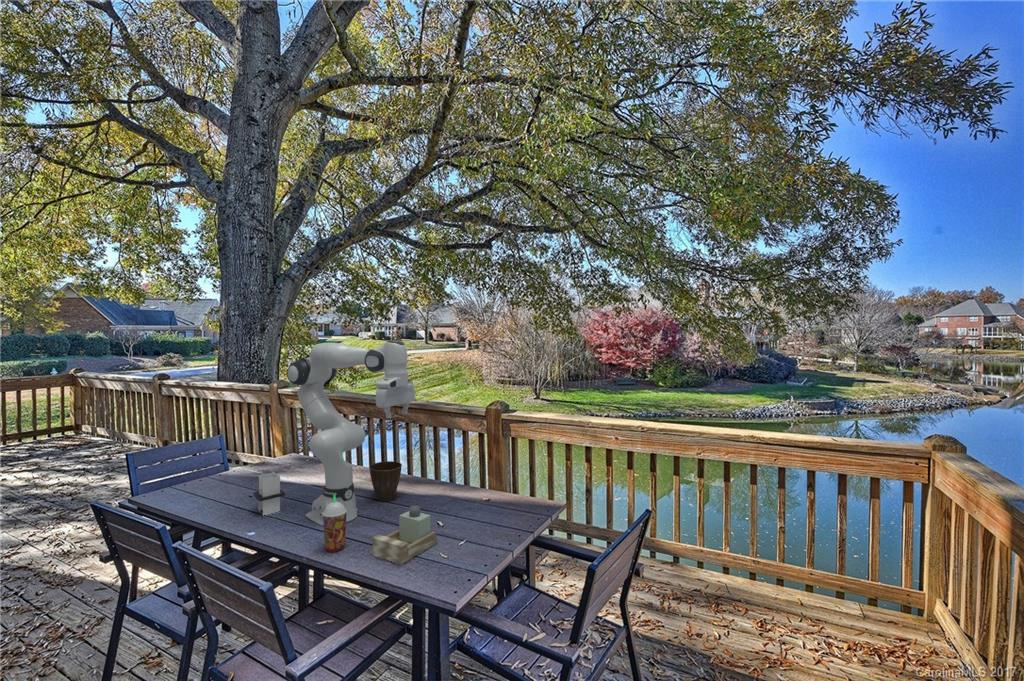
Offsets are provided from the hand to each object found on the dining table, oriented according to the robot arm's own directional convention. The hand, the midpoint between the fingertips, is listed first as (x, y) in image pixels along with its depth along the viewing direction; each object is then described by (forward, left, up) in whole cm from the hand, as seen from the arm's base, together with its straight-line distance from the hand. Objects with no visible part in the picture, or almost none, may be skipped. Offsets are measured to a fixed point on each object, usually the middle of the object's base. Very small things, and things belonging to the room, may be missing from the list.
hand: (396, 416), depth 185 cm
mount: (+13, -10, -46) cm, 49 cm away
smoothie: (-10, -22, -47) cm, 53 cm away
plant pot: (-31, +24, -47) cm, 61 cm away
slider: (+13, -5, -44) cm, 47 cm away
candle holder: (-65, -13, -47) cm, 81 cm away
